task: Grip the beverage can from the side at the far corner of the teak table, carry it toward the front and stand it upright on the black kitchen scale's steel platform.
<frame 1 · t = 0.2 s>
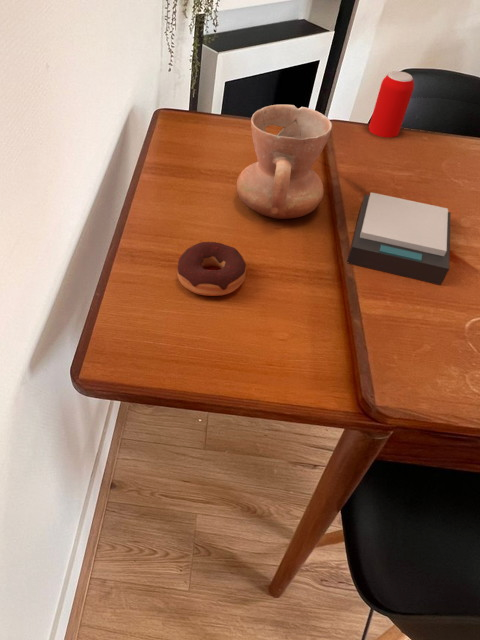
beverage can: (381, 138, 110), on the table
kitchen scale: (397, 241, 85), on the table
donut: (210, 279, 76), on the table
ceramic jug: (276, 207, 90), on the table
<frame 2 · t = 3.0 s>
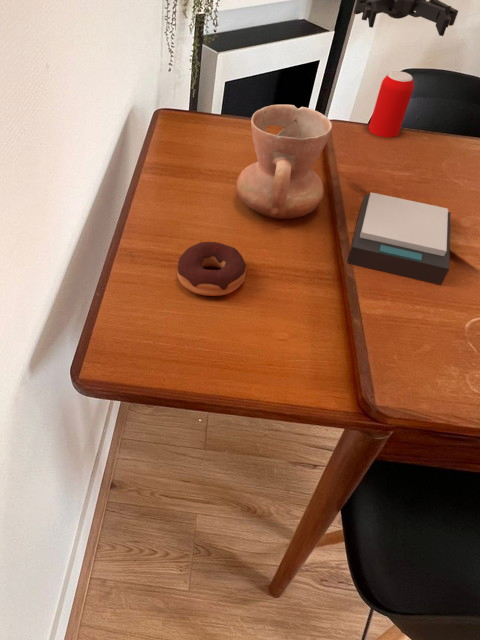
hand: (408, 23, 102), 18 cm above the table, tool horizontal, fingers open, 13 cm apart
nothing on the table moved.
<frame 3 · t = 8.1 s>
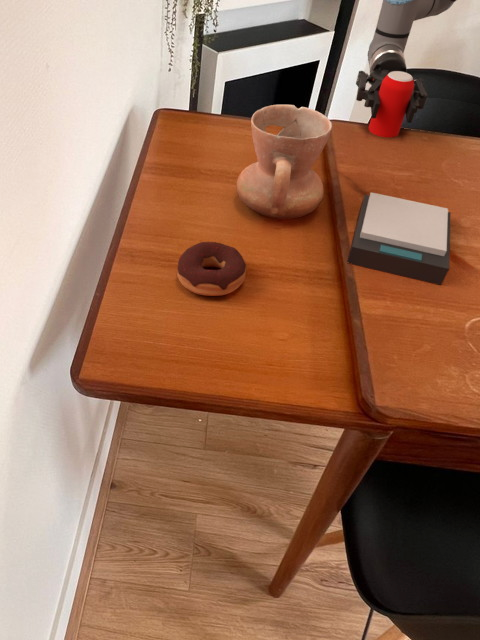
hand: (393, 113, 101), 7 cm above the table, tool horizontal, fingers closed on beverage can, 6 cm apart
beverage can: (380, 138, 110), on the table, touching gripper
everything else where it was.
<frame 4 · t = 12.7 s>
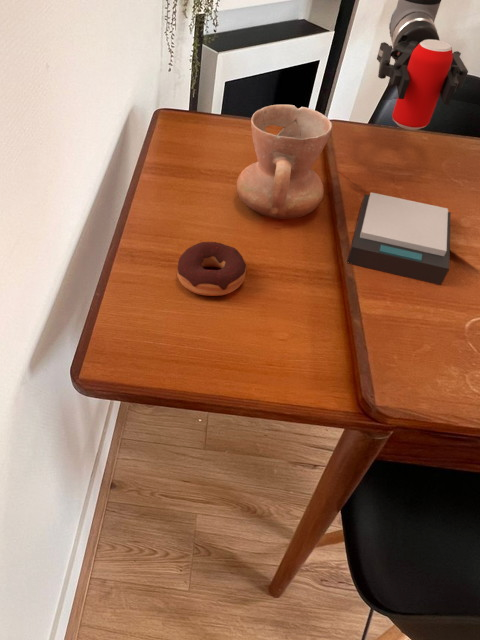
hand: (426, 92, 80), 18 cm above the table, tool horizontal, fingers closed on beverage can, 6 cm apart
beverage can: (408, 126, 89), point 11 cm above the table, touching gripper
everything else where it was.
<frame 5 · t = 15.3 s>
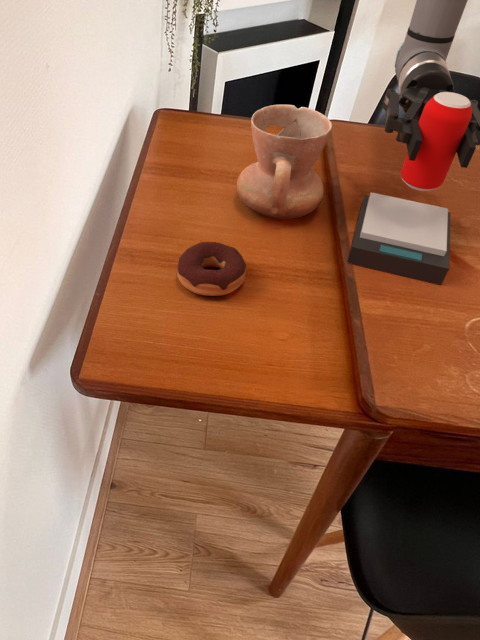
hand: (441, 154, 69), 17 cm above the table, tool horizontal, fingers closed on beverage can, 6 cm apart
beverage can: (418, 185, 78), point 10 cm above the table, touching gripper
everything else where it was.
when the fingers open (11 cm above the table, at t = 17.3 s): beverage can stays where it is, resting on kitchen scale.
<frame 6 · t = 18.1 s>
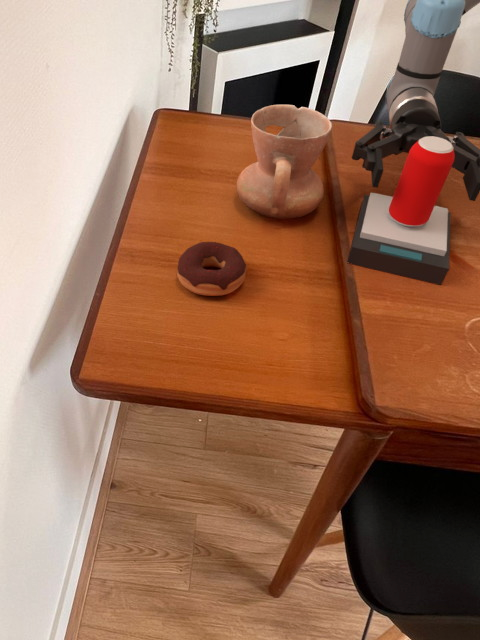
hand: (426, 185, 74), 12 cm above the table, tool horizontal, fingers open, 13 cm apart
beverage can: (405, 220, 82), point 4 cm above the table, touching kitchen scale
everything else where it was.
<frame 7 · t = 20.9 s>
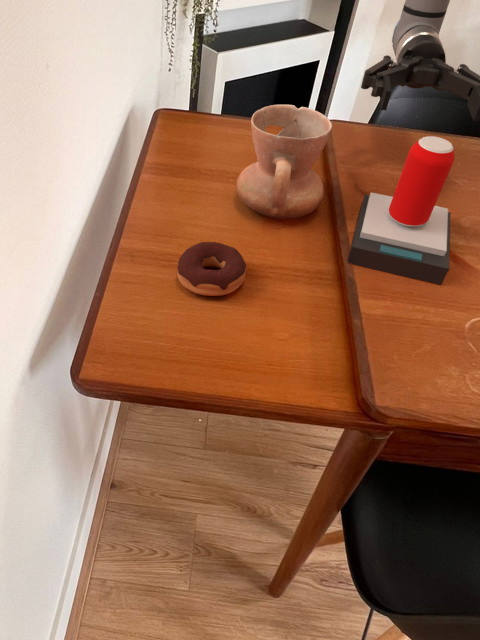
hand: (432, 106, 78), 17 cm above the table, tool horizontal, fingers open, 13 cm apart
nothing on the table moved.
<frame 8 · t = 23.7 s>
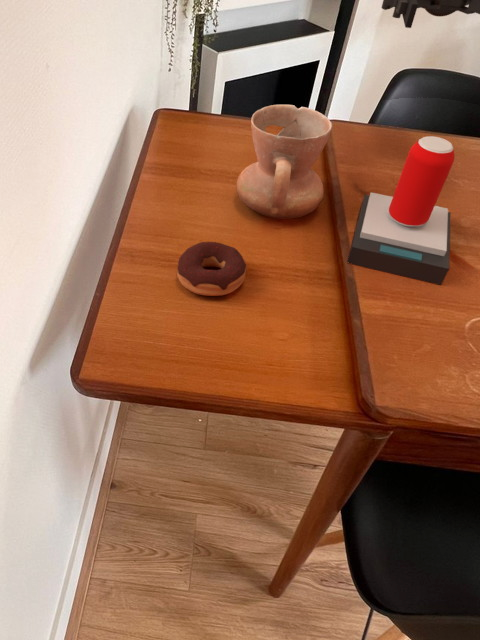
hand: (463, 22, 70), 28 cm above the table, tool horizontal, fingers open, 13 cm apart
nothing on the table moved.
at the end: beverage can inside the target area on the kitchen scale (0.0 cm from its centre), point 3.8 cm above the kitchen scale's base; beverage can tilted 0°; the gripper is holding nothing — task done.
